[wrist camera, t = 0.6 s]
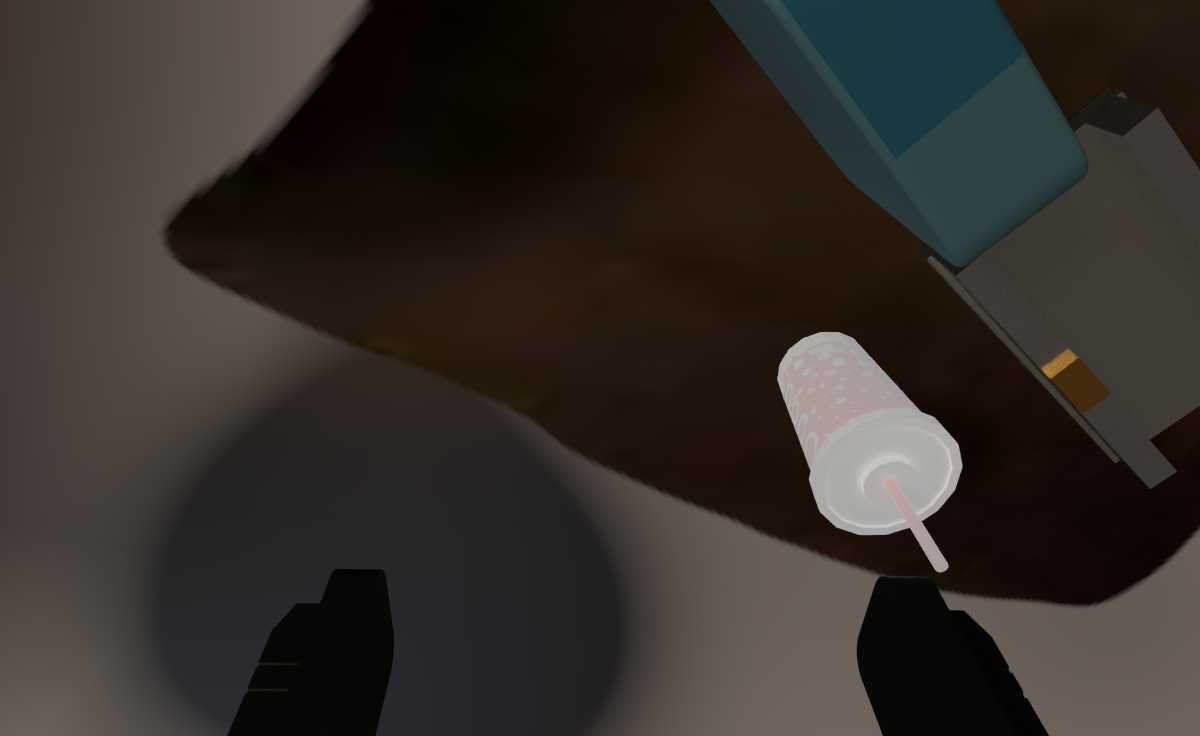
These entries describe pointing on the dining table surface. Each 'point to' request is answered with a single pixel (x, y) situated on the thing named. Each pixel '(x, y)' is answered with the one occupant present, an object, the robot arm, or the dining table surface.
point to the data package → (921, 109)
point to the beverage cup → (866, 442)
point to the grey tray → (1105, 285)
